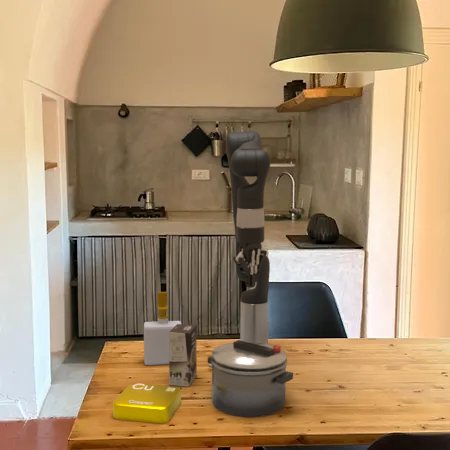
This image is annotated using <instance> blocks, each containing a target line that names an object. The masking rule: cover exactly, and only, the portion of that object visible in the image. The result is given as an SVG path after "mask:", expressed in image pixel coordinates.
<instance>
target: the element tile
mask: <svg viewBox="0 0 450 450" xmlns="http://www.w3.org/2000/svg"><path fill="white" fill-rule="evenodd" d="M181 404H182V389H181V388H180V386H174V385H158V384H150V383H149V384H147V383H138V382H137V383H135V382H134V383H133V382H132V383H131V384H129V385H127V387H126V388H124V389H123V391H122V392H121V393H120V394H119V395H117V397H116V398H115V399H114V400H113V402H112V418H114V419H115V420H121V421H130V422H132V421H133V422H138V423H139V422H140V423H141V422H142V423H149V422H151V424H166V422H167V423H168V422H169V421H171V419H172V417H173V416H174V414H175V413H176V411H177V410H178V409H179V407H180V405H181Z"/></svg>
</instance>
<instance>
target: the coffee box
mask: <svg viewBox="0 0 450 450" xmlns="http://www.w3.org/2000/svg"><path fill="white" fill-rule="evenodd" d="M197 328H198V327H197V324H188V323H187V324H182V323H181V324H177V325H176V326H175V327H174V328H173V329H172V330H171V331H170V332H169V364H168V386H175V387H186V388H188V387H190V386H191V385H192V383H193V381H194V380H195V379H196V377H197V372H198V371H197V366H198V365H197V364H198V363H197V361H198V359H197V357H198V356H197V355H198V352H197V348H198V347H197V346H198V344H197V343H198V342H197V341H198V339H197V337H198V336H197V334H198V333H197Z"/></svg>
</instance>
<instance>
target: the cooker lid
mask: <svg viewBox="0 0 450 450" xmlns="http://www.w3.org/2000/svg"><path fill="white" fill-rule="evenodd" d="M211 354H212V355H211V356H212V358H213V360H214V361H215V362H217V363H219V364H221V365H224V366H227V367H231V368H237V369H247V370H259V369H268V368H273V367H277V366H280V365H282V364H283V363H284V362H285V361H286V358H287V353H286V351H285V350H284V349H282V348H281V345H278V344H277V345H273V344H269V343H268V344H265V343H258V342H244V341H240V339H239V340H236V341H233V342H228V343H224V344H221V345H217V346H216V347H215V348H213V350H212V353H211Z"/></svg>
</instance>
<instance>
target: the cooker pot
mask: <svg viewBox="0 0 450 450" xmlns="http://www.w3.org/2000/svg"><path fill="white" fill-rule="evenodd" d="M207 364H208V365H209V364H212V368H211V404H212V406H213V407H214V408H215V409H217V410H218V411H219V412H222V413H224V414H227V415H230V416H234V417H241V418H258V417H259V418H260V417H267V416H271V415H274V414H276V413H279V412H280V411H282V410H283V409H284V407H285V406H286V387H287V386H286V384H287V383H288V382H290V381H292V380H293V379H294V372H291V371H287V365H288V359H287V357H286V361H285V362H284V363H283V364H282V365H280V366H277V367H273V368H268V369H259V370H247V369H237V368H231V367H227V366H224V365H221V364H219V363H217V362H215V361H214V360H213V358H212V355H210V356H208V357H207Z"/></svg>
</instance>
